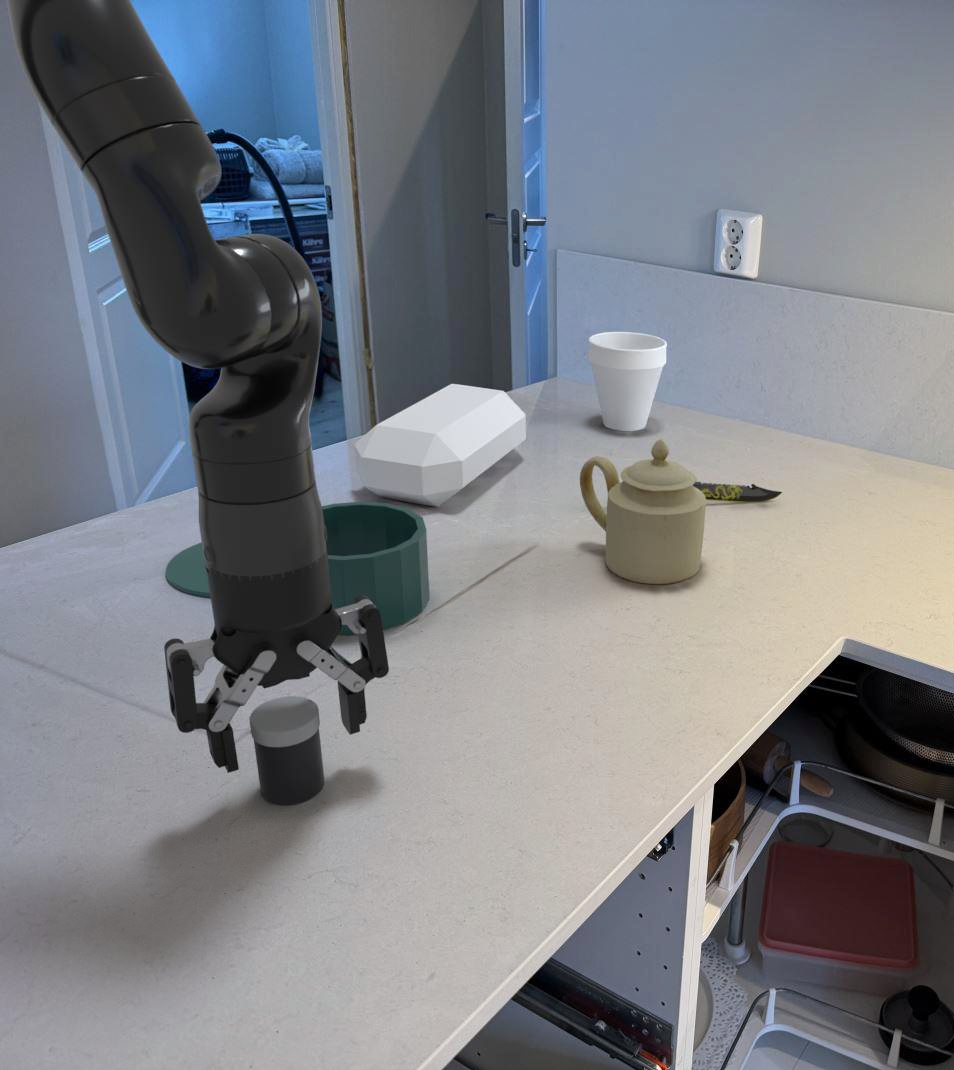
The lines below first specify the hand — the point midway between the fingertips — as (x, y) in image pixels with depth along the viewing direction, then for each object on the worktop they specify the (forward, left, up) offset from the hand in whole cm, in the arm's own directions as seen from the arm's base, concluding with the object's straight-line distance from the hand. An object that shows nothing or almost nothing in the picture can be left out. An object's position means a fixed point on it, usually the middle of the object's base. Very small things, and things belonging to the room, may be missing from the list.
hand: (292, 746), depth 73 cm
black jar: (0, 0, -4) cm, 4 cm away
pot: (-15, +24, -4) cm, 28 cm away
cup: (-21, +92, -4) cm, 94 cm away
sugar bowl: (+4, +48, -4) cm, 48 cm away
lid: (-30, +24, -3) cm, 39 cm away
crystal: (-30, +58, -4) cm, 65 cm away
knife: (+3, +68, -4) cm, 68 cm away
